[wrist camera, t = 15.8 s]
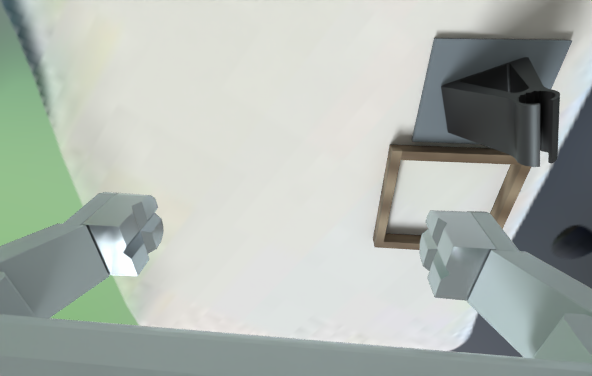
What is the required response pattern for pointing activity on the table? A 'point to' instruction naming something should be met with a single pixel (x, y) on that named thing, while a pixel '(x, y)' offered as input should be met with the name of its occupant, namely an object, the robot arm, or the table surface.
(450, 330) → the table surface
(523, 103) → the phone stand
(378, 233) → the walnut frame
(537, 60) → the charcoal mat
